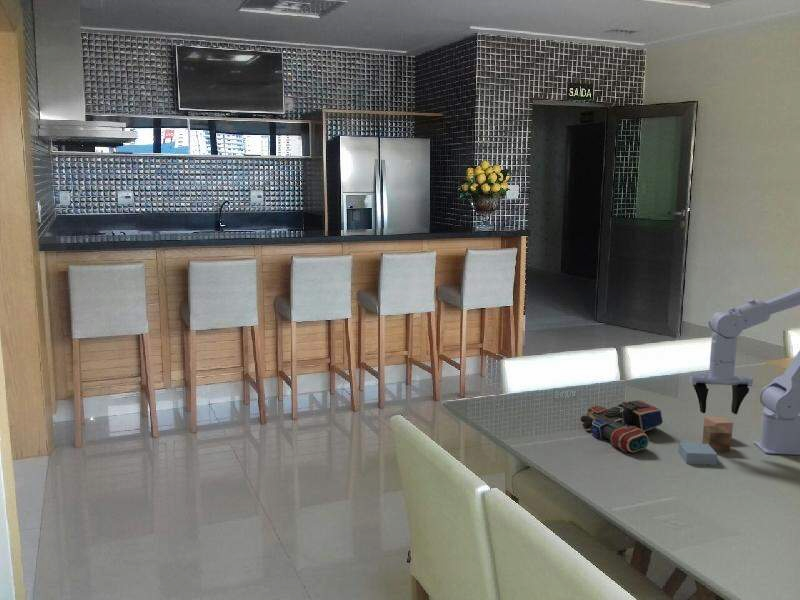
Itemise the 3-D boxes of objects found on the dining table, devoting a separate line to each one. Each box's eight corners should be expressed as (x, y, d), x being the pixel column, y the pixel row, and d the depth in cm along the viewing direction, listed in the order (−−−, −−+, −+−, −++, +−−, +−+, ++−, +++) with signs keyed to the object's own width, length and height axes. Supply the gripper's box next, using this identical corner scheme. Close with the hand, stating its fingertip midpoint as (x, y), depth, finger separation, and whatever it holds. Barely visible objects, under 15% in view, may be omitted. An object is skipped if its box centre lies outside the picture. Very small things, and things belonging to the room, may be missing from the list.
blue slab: (707, 455, 176) (708, 443, 176) (716, 466, 170) (717, 454, 169) (678, 454, 177) (678, 442, 177) (686, 464, 170) (686, 452, 170)
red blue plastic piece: (622, 438, 174) (690, 412, 178) (570, 410, 198) (631, 388, 202) (628, 467, 175) (695, 441, 180) (575, 436, 199) (636, 414, 204)
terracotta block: (720, 434, 191) (721, 416, 190) (731, 440, 186) (733, 422, 185) (702, 435, 190) (704, 417, 189) (714, 441, 185) (715, 423, 184)
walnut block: (722, 445, 183) (723, 426, 182) (729, 452, 178) (730, 433, 177) (702, 444, 183) (703, 425, 182) (708, 451, 178) (710, 432, 178)
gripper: (746, 356, 180) (742, 408, 182) (687, 355, 182) (684, 406, 184) (757, 363, 173) (753, 417, 175) (696, 362, 175) (692, 415, 177)
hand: (718, 412), depth 179 cm, fingers open, 7 cm apart
